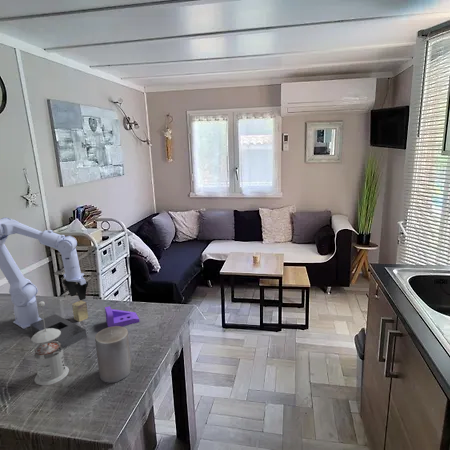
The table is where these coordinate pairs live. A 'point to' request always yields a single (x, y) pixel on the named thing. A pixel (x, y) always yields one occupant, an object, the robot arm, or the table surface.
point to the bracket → (120, 317)
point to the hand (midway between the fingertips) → (78, 297)
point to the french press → (48, 355)
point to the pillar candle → (113, 353)
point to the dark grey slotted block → (61, 329)
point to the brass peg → (80, 310)
